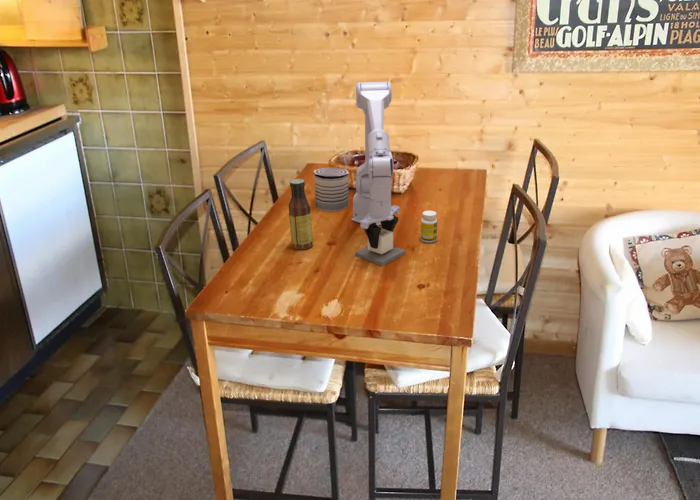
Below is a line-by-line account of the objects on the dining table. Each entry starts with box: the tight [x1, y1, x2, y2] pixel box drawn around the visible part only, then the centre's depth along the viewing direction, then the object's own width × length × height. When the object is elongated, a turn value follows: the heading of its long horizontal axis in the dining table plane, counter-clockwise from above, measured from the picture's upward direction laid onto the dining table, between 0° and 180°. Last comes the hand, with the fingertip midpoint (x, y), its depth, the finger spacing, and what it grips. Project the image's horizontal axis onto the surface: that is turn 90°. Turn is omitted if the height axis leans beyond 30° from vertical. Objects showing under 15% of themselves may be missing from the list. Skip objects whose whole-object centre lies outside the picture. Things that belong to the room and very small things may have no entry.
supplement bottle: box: [419, 210, 438, 243], centre depth 206 cm, size 5×5×8 cm
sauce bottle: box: [288, 178, 314, 251], centre depth 201 cm, size 7×6×20 cm
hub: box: [367, 228, 394, 254], centre depth 198 cm, size 5×5×5 cm
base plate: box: [354, 245, 406, 267], centre depth 199 cm, size 10×10×4 cm
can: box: [313, 167, 350, 212], centre depth 231 cm, size 11×11×12 cm
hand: (380, 244), depth 198 cm, fingers closed on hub, 5 cm apart
